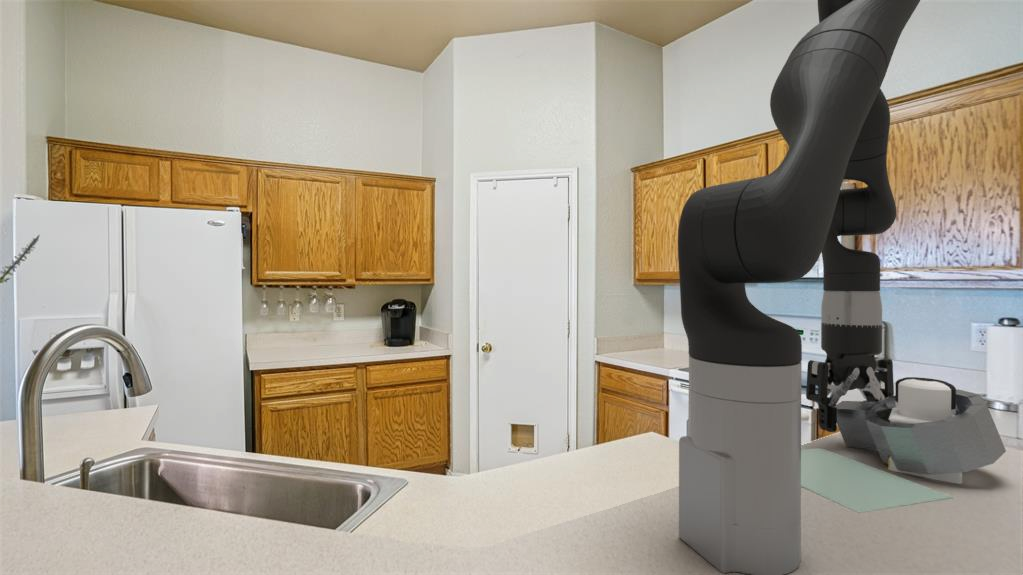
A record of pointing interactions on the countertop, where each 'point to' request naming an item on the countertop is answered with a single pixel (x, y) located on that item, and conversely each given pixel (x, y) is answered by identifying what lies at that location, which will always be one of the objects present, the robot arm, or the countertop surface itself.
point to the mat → (859, 483)
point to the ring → (924, 435)
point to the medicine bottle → (924, 411)
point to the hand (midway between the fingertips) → (850, 428)
